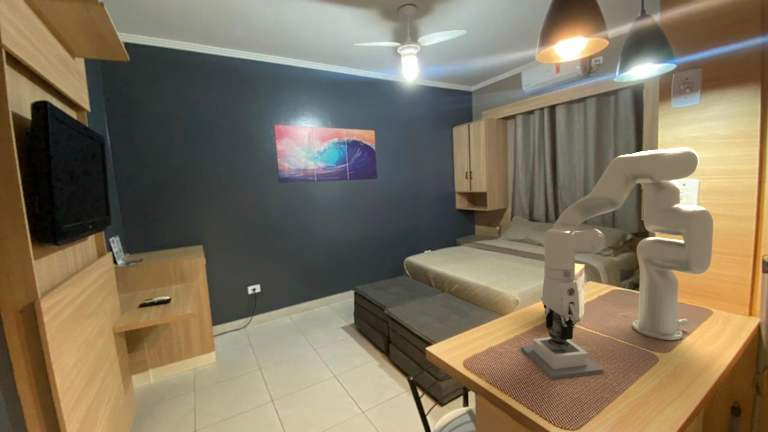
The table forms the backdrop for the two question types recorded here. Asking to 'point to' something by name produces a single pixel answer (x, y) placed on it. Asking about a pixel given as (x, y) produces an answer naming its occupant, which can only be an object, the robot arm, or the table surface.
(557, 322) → the grey turned piece
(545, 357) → the socket
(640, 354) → the table surface
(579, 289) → the coffeecake box
